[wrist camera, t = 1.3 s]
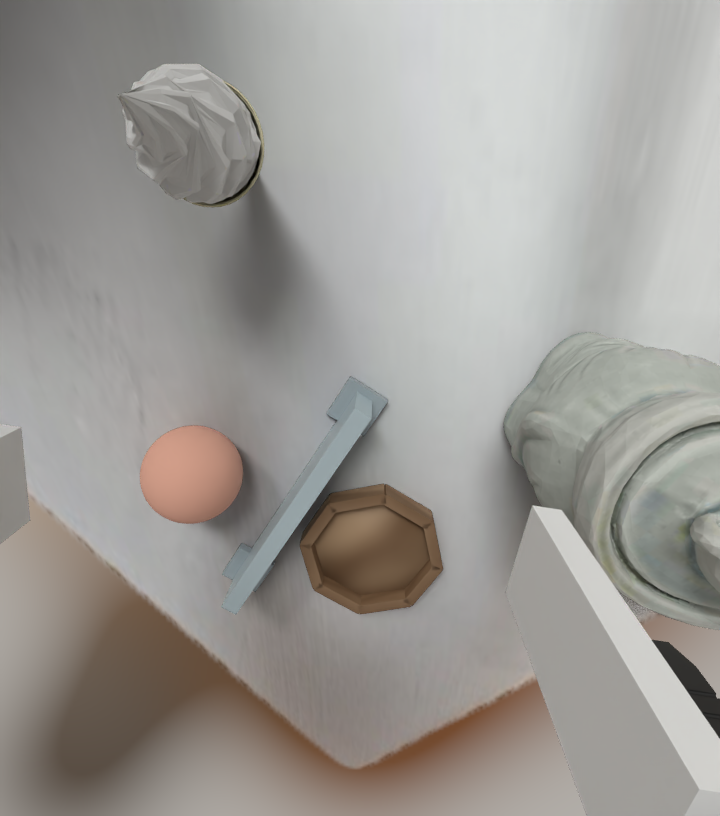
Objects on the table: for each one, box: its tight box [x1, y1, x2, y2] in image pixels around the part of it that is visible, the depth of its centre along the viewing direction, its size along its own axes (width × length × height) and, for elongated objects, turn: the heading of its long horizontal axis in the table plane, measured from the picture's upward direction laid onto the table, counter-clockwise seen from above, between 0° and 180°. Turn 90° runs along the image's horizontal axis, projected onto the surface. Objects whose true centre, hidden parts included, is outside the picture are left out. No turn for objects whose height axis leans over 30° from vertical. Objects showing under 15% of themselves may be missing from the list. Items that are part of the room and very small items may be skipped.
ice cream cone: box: [117, 64, 264, 207], centre depth 21 cm, size 5×5×15 cm
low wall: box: [221, 376, 388, 614], centre depth 33 cm, size 3×19×4 cm, turn 148°
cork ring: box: [300, 484, 443, 614], centre depth 35 cm, size 10×10×2 cm
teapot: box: [504, 332, 720, 630], centre depth 23 cm, size 16×15×19 cm
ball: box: [140, 426, 243, 524], centre depth 31 cm, size 6×6×6 cm
